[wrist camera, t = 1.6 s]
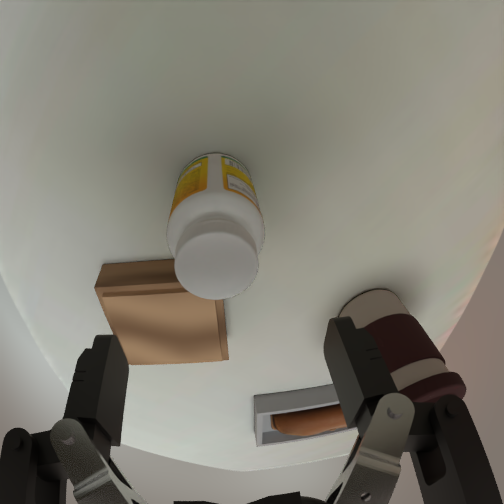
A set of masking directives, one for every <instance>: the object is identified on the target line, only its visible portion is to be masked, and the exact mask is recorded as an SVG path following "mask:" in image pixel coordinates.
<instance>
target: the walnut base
mask: <svg viewBox="0 0 504 504" xmlns="http://www.w3.org/2000/svg"><path fill="white" fill-rule="evenodd" d="M174 263H175V259H168V260H155V261H142V262H129V263H116V264H103V266H102V268H101V271H100V273H99V276H98V279H97V281H96V284H95V287H94V288H95V291H96V294H97V296H98V299H99V301H100V304H101V306H102V309H103V311H104V313H105V316H106V318H107V320H108V323H109V325H110V327H111V330H112V332H113V334H114V335H116V336H117V338H118V340H119V342H120V344H121V347H122V349H123V351H124V353H125V356H126V358H127V361H128V364H131V365H153V364H181V363H199V362H214V361H222V360H229V355H228V344H227V333H226V323H225V313H224V303H223V299H221V300H210V299H204V298H201V297H198V296H196V295H193V294H192V293H190V292H189V291H187V290H186V289H185V288H184V287H183V286H182V285H181V283H180V282H179V280H178V279H177V276H176V273H175V268H174Z"/></svg>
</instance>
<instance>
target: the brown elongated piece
mask: <svg viewBox="0 0 504 504" xmlns="http://www.w3.org/2000/svg"><path fill="white" fill-rule="evenodd" d="M270 418H271V428H272V429H274V430H278V431H279V432H280V433H282V434H287V435H297V436H309V435H315V434H318V433H321V432H324V431H328V430H329V431H334V430H336V429H338V428H344V427H347V425H346V421H345V418H344V415H343V412H342V409H341V406H340V403H339V404H334V405H329V406H323V407H318V408H312V409H306V410H300V411H294V412H287V413H280V414H272V415H270Z"/></svg>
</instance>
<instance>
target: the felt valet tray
mask: <svg viewBox="0 0 504 504" xmlns="http://www.w3.org/2000/svg"><path fill="white" fill-rule="evenodd" d="M334 404H339V400H338V396H337V393H336V390H335V387H334V384H331V385H325V386H320V387H314V388H308V389H301V390H294V391H287V392H280V393H272V394H263V395H254V420H255V438H256V445H257V447H258V446H267V445H275V444H282V443H288V442H295V441H301V440H307V439H312V438H318V437H323V436H328V435H333V434H337V433H342V432H346V431H350V430H355V429H357V427H354V428H350V429H348V428H347V427H344V428H338V429H336V430H334V431H329V430H328V431H324V432H321V433H318V434H315V435H309V436H297V435H287V434H282V433H280V432H279V431H278V430H274V429H272V428H271V418H270V415H272V414H280V413H287V412H294V411H300V410H306V409H312V408H318V407H323V406H329V405H334Z"/></svg>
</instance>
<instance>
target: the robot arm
mask: <svg viewBox="0 0 504 504" xmlns="http://www.w3.org/2000/svg"><path fill="white" fill-rule="evenodd" d="M324 356H325V360H326V363H327V366H328V369H329V372H330V375H331V378H332V381H333V384H334V387H335V390H336V393H337V396H338V400H339V403H340V406H341V409H342V412H343V415H344V418H345V421H346V425H347V428H348V429H350V428H354V427H357V429H358V432H359V435H358V437H357V439H356V441H355V444H354V446H353V448H352V450H351V452H350V455H349V457H348V459H347V461H346V463H345V465H344V467H343V470H342V471H341V473H340V475H339V477H338V479H337V480H336V482H335V484H334V485H333V487H332V489H331V490H330V492H329V494H328V496H327V498H326V500H325V501H322V500H319V499H315V498H311V497H304V496H300V492H293V493H287V494H281V495H274V496H268V497H265V498H262V499H259V500H257V501H254V502H251V503H248V504H388V503H389V500H390V498H391V496H392V493H393V491H394V488H395V486H396V483H397V481H398V478H399V475H400V472H401V466H400V465H399V462H400V459H401V456H402V453H403V452H410V455H411V458H412V462H413V465H414V468H415V472H416V476H417V479H418V483H419V486H420V490H421V493H422V497H423V501H424V504H503V503H502V500H501V496H500V493H499V490H498V487H497V484H496V481H495V478H494V475H493V472H492V469H491V466H490V463H489V461H488V458H487V456H486V453H485V450H484V447H483V445H482V442H481V440H480V437H479V435H478V432H477V430H476V427H475V425H474V423H473V420H472V418H471V416H470V413H469V411H468V409H467V406H466V404H465V403H464V401H463V400H462V399H461V398H459V397H458V396H455V395H451V394H449V395H444V396H442V397H441V398H440V399H439V400H438V401H437V402H436V403H432V402H413V401H411V400H410V399H409V398H408V397H406V396H405V395H403V394H400V392H399V391H398V389H397V387H396V385H395V383H394V381H393V378H392V376H391V374H390V372H389V370H388V367H387V365H386V363H385V361H384V359H383V358H382V355H381V352H380V350H378V346H377V344H376V342H375V340H374V338H373V336H372V335H371V334H370V333H369V332H368V331H367V330H365V329H364V328H358V329H356V327H355V325H354V323H353V320H352V318H351V317H350V316H345V317H338V318H331V319H330V320H329V323H328V328H327V332H326V337H325V341H324ZM128 375H129V366H128V361H127V358H126V356H125V353H124V351H123V349H122V347H121V344H120V342H119V340H118V338H117V336H116V335H96V336H95V339H94V342H93V346H92V349H87V348H86V349H85V350H84V351H83V353H82V354H81V355H80V357H79V358H78V361H77V364H76V368H75V373H74V376H73V379H72V380H73V382H72V383H71V387H70V392H69V396H68V400H67V404H66V409H65V413H64V417H63V419H62V420H60V421H58V422H57V423H56V424H55V425H54V426H53V427H52V429H51V430H49V431H45V432H39V433H34V434H29V433H28V432H27V431H26V430H25V429H23V428H14V429H11V430H10V431H9V432H8V433H7V434H6V435H5V437H4V441H3V445H2V451H1V457H0V504H66V483H67V479H70V481H71V483H72V484H73V486H74V489H75V490H74V491H73V494H74V497H75V499H76V501H77V503H78V504H148V503H147V502H146V501H145V500H144V499H143V498H142V497H141V496H140V495H139V494H138V493H137V491H136V490H135V489H134V488H133V487H132V485H131V484H130V482H129V481H128V480H127V478H126V477H125V476H124V474H123V473H122V471H121V470H120V468H119V467H118V466H117V464H116V463H115V461H114V460H113V458H112V457H111V455H110V449H111V446H120V442H121V431H122V422H123V413H124V405H125V397H126V389H127V382H128ZM174 504H217V503H211V502H206V501H174Z"/></svg>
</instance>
